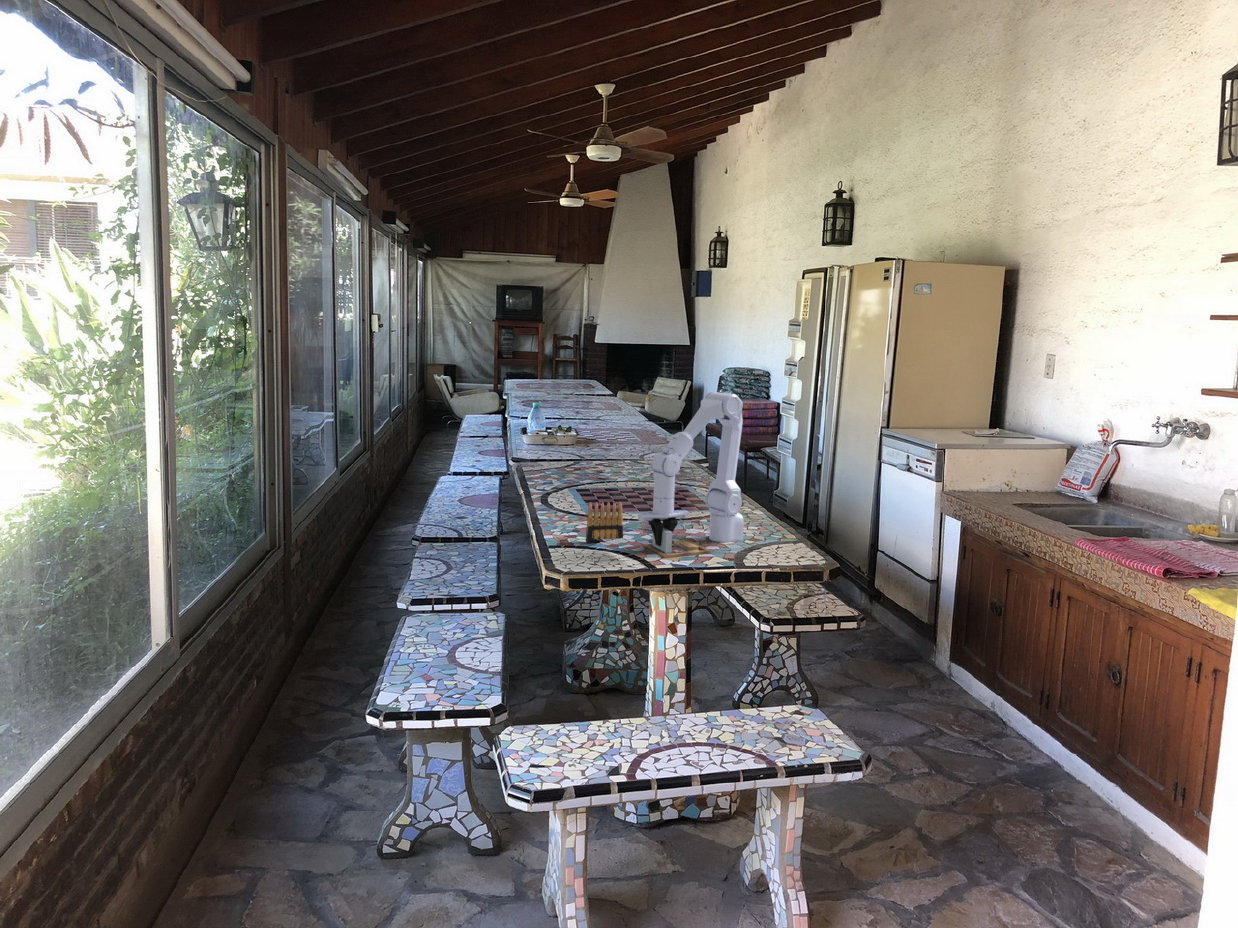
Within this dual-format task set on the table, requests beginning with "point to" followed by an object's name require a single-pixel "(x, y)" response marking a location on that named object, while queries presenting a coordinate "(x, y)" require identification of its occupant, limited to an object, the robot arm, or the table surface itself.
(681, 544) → the offcut oak
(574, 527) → the table surface
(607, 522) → the ammunition clip
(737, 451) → the robot arm
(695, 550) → the offcut birch
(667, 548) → the block
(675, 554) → the rack
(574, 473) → the table surface
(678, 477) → the table surface
